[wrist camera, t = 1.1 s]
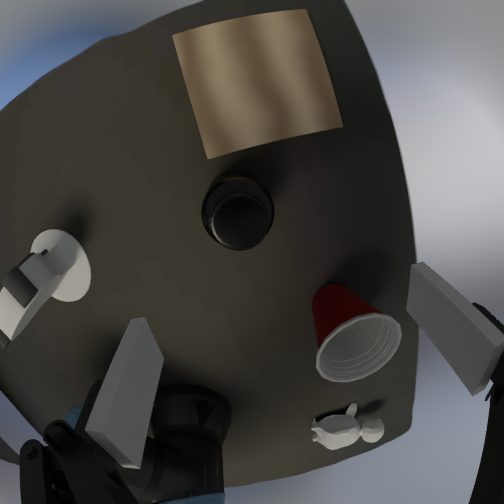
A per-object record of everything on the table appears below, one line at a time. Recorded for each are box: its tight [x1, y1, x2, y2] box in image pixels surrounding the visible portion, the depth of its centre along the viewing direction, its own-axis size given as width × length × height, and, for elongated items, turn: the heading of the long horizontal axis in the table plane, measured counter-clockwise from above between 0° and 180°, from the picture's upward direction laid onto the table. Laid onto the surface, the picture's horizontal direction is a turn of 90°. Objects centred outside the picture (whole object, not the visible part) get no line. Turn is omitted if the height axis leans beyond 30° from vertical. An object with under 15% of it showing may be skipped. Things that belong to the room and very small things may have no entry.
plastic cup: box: [312, 284, 402, 382], centre depth 35 cm, size 11×11×12 cm
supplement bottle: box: [201, 171, 274, 251], centre depth 29 cm, size 7×7×12 cm
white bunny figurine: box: [311, 403, 384, 450], centre depth 48 cm, size 9×8×15 cm
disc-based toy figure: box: [0, 229, 92, 349], centre depth 28 cm, size 12×11×15 cm
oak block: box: [172, 9, 343, 159], centre depth 27 cm, size 15×15×4 cm
